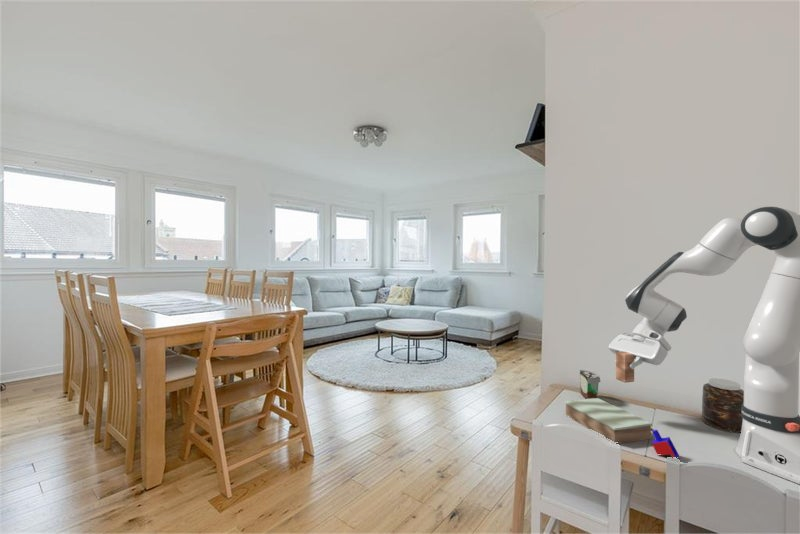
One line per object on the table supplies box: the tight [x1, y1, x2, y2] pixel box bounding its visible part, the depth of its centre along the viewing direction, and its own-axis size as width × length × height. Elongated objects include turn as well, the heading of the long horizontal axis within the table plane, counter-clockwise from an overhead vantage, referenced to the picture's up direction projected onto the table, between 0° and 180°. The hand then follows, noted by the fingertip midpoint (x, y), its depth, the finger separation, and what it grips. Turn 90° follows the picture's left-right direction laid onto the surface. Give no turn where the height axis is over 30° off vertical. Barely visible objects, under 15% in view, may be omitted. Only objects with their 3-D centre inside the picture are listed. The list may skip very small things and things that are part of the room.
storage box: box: [564, 397, 653, 444], centre depth 127 cm, size 23×15×5 cm, turn 14°
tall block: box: [615, 352, 635, 383], centre depth 134 cm, size 4×4×10 cm
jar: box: [701, 377, 744, 434], centre depth 128 cm, size 12×12×15 cm
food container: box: [579, 369, 601, 399], centre depth 152 cm, size 12×6×10 cm, turn 168°
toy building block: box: [651, 429, 680, 458], centre depth 108 cm, size 4×4×8 cm
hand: (623, 365), depth 134 cm, fingers closed on tall block, 4 cm apart
